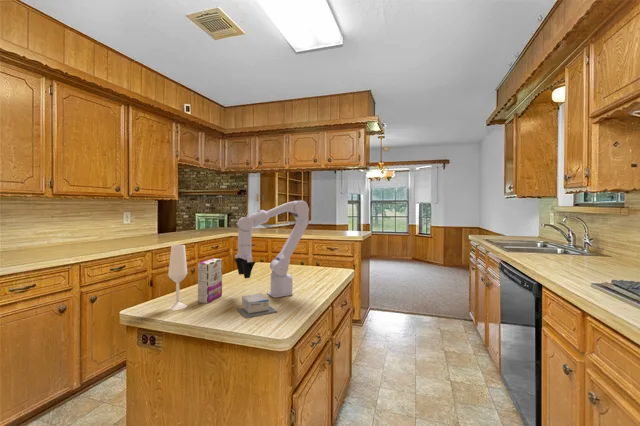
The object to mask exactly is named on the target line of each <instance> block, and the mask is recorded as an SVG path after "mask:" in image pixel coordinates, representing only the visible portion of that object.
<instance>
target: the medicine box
mask: <svg viewBox="0 0 640 426" xmlns="http://www.w3.org/2000/svg"><path fill="white" fill-rule="evenodd" d="M269 306H270V298H268V297H267V296H266V295H264V294H262V293H256V294H255V293H254V294H250V295H243V296H241V308H244V309H245V310H246V311H247V312H248V313H249V314H250V313H256V312H261V311H267V310H269Z"/></svg>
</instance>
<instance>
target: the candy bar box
mask: <svg viewBox="0 0 640 426" xmlns="http://www.w3.org/2000/svg"><path fill="white" fill-rule="evenodd" d="M222 296H223V259H222V258H210V259H206V260H204V261H200V262H198V263H197V303H200V304H210V303H211V302H213V301H215V300H217V299H219V298H220V297H222Z"/></svg>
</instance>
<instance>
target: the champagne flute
mask: <svg viewBox="0 0 640 426" xmlns="http://www.w3.org/2000/svg"><path fill="white" fill-rule="evenodd" d="M167 275H168V278H170V280H172V282H174V283H175V303H172V304H171V305H169V306H168V307H167V309H168V310H170V311H179V310H182V309H183V310H184V309H185V308H187V307H188V305H187V304H185V303H182V302H180V282H182V281H183V280H185V278H187V275H188V263H187V253H186V245H185V244H173V245H171V246H170V255H169V266H168V273H167Z"/></svg>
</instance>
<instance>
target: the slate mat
mask: <svg viewBox="0 0 640 426" xmlns="http://www.w3.org/2000/svg"><path fill="white" fill-rule="evenodd" d="M237 312H239V313H240V314H241V315H242V316H243V317H244V318H245V319H249V318H255V317H260V316H264V315H271V314H275V313H276V314H277V313H278V311H277V310H276V309H275V308H273V307H272V306H271V305H269V310H267V311H261V312H256V313H250V314H249V313H248V312H247V311H246V310H245V309H244V308H243V307H240V308H237Z"/></svg>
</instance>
